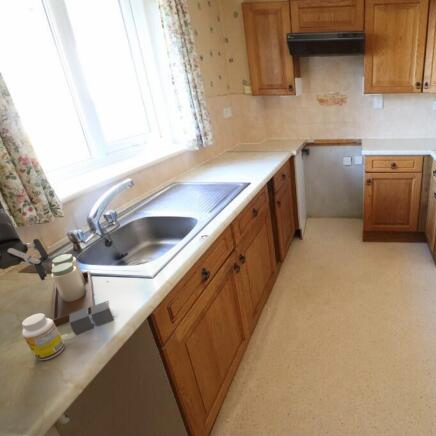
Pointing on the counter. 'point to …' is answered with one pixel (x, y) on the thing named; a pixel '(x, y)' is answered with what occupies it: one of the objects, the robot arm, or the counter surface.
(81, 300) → the tray
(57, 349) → the supplement bottle
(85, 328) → the grey blocks
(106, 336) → the counter surface
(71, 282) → the cream bottles
